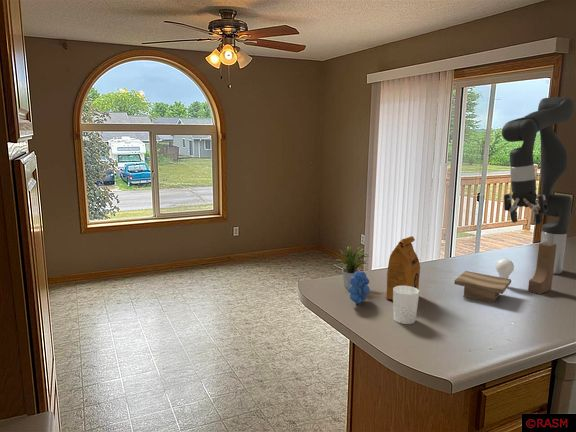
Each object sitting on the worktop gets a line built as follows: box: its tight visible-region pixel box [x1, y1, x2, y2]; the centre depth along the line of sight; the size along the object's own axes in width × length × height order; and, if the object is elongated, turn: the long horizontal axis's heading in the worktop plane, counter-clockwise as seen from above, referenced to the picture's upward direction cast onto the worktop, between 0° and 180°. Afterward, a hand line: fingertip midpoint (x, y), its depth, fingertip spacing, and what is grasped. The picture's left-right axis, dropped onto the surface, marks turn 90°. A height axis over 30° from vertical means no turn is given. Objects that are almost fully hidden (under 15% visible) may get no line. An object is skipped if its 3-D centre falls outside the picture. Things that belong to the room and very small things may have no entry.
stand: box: [453, 270, 512, 303], centre depth 157 cm, size 14×16×6 cm
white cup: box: [392, 286, 420, 325], centre depth 136 cm, size 8×8×10 cm
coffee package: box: [386, 235, 421, 301], centre depth 153 cm, size 10×12×22 cm
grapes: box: [347, 270, 371, 305], centre depth 148 cm, size 12×7×12 cm, turn 139°
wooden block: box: [527, 242, 557, 295], centre depth 162 cm, size 9×4×18 cm, turn 125°
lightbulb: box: [495, 257, 515, 279], centre depth 167 cm, size 6×6×11 cm
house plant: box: [336, 244, 370, 289], centre depth 164 cm, size 14×14×16 cm
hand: (526, 223), depth 153 cm, fingers open, 8 cm apart
